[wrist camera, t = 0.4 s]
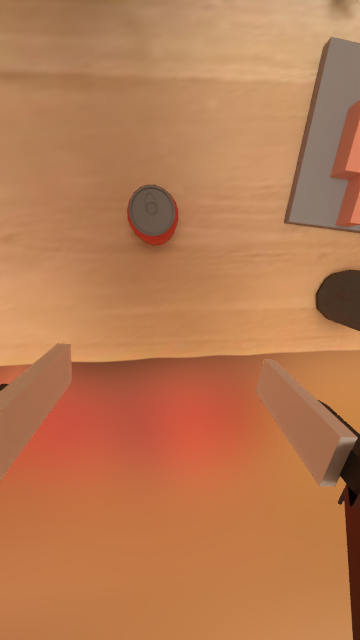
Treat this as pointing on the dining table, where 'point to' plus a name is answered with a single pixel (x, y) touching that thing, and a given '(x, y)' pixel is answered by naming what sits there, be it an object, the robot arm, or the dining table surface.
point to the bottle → (341, 298)
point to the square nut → (349, 168)
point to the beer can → (152, 214)
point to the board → (325, 139)
